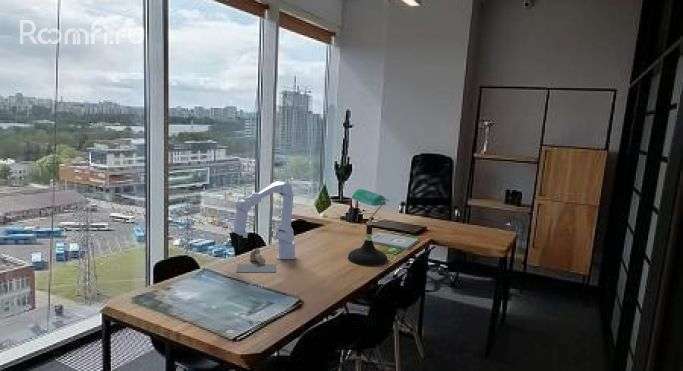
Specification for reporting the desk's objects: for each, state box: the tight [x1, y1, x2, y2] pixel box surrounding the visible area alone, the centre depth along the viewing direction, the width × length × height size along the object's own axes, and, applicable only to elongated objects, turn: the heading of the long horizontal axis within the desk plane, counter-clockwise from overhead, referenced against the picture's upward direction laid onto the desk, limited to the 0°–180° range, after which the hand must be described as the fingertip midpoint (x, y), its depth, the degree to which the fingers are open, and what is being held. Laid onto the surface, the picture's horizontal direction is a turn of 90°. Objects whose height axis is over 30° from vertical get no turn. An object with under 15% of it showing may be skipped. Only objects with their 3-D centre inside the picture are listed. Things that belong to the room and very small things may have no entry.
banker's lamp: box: [347, 188, 390, 267], centre depth 248 cm, size 26×23×40 cm
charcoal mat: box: [235, 263, 277, 274], centre depth 227 cm, size 20×12×1 cm, turn 99°
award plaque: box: [363, 231, 419, 251], centre depth 292 cm, size 25×30×2 cm
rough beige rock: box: [249, 247, 266, 265], centre depth 237 cm, size 6×14×7 cm, turn 29°
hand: (236, 248), depth 225 cm, fingers open, 7 cm apart
